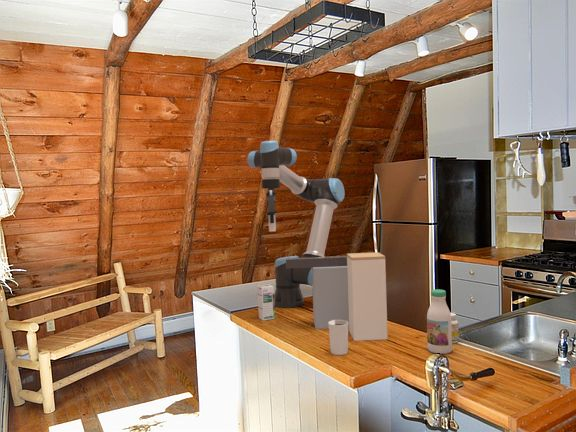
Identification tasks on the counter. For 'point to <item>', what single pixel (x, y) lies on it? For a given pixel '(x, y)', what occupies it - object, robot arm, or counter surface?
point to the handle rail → (316, 262)
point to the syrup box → (266, 302)
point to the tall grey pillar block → (330, 295)
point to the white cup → (338, 336)
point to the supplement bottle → (454, 328)
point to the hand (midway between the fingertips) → (272, 230)
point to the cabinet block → (367, 296)
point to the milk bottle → (439, 324)
